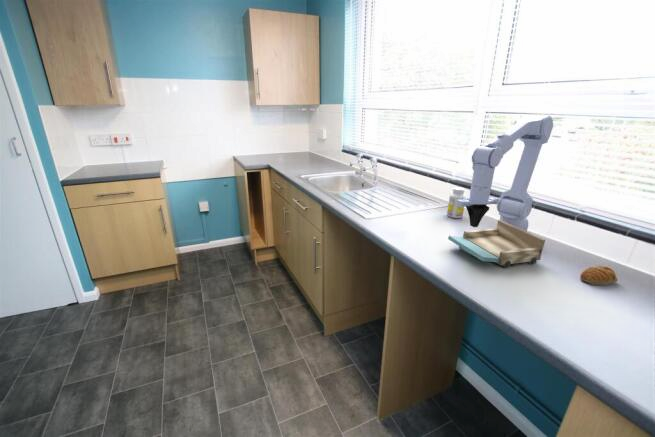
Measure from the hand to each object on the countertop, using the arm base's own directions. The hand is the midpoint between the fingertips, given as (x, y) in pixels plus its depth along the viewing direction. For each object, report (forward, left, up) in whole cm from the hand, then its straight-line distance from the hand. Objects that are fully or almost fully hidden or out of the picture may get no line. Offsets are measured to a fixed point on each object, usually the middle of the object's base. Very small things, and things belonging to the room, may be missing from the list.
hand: (473, 226), depth 103 cm
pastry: (-25, +24, -10) cm, 36 cm away
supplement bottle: (-19, -34, -10) cm, 40 cm away
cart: (-9, +3, -10) cm, 14 cm away
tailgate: (-1, +3, -6) cm, 7 cm away
